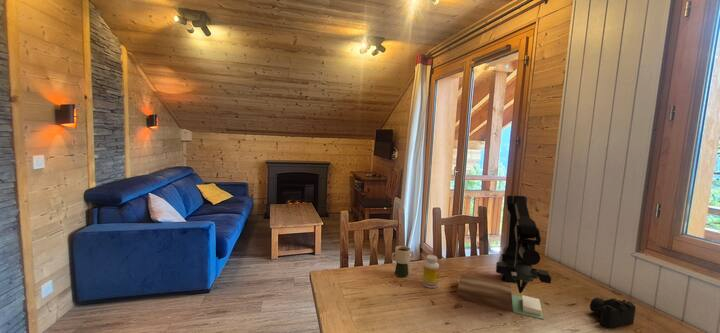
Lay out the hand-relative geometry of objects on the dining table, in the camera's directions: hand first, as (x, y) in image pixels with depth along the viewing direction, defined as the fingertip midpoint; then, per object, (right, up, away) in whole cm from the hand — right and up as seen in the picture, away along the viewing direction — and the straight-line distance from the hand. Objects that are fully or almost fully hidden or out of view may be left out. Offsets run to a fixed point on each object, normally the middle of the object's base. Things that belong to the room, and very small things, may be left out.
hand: (520, 292), depth 119 cm
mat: (+2, -5, -1) cm, 6 cm away
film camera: (+29, -7, -7) cm, 31 cm away
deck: (-12, -4, +6) cm, 14 cm away
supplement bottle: (-32, -3, +14) cm, 35 cm away
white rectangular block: (+3, -3, -2) cm, 5 cm away
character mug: (-44, -1, +22) cm, 49 cm away
